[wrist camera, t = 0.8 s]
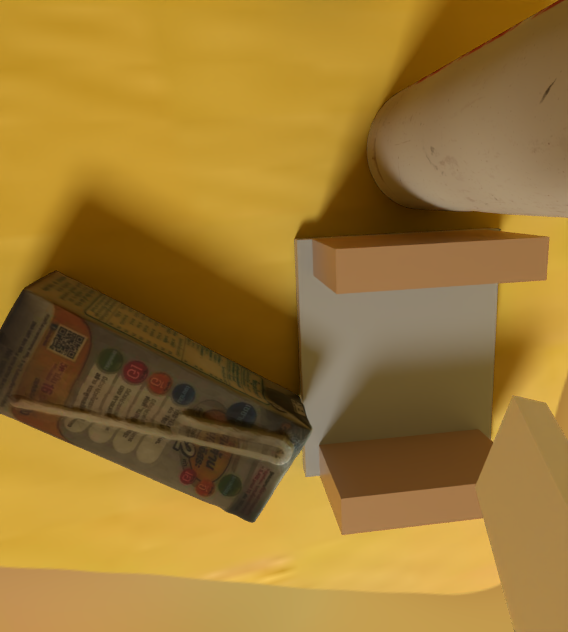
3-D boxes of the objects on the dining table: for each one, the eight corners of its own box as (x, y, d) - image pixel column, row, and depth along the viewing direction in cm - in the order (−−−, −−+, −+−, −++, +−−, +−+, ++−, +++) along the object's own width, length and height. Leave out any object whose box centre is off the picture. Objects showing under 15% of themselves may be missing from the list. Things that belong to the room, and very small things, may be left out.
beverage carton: (248, 483, 40) (254, 538, 33) (-2, 367, 35) (-50, 404, 29) (303, 393, 39) (320, 432, 32) (52, 263, 34) (14, 278, 28)
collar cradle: (294, 238, 36) (316, 250, 28) (491, 227, 37) (566, 235, 29) (303, 468, 39) (325, 536, 32) (482, 450, 41) (546, 510, 33)
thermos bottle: (367, 83, 34) (952, -355, 7) (484, 85, 35) (1397, -295, 8) (364, 210, 36) (824, 248, 9) (476, 208, 37) (1202, 238, 10)
